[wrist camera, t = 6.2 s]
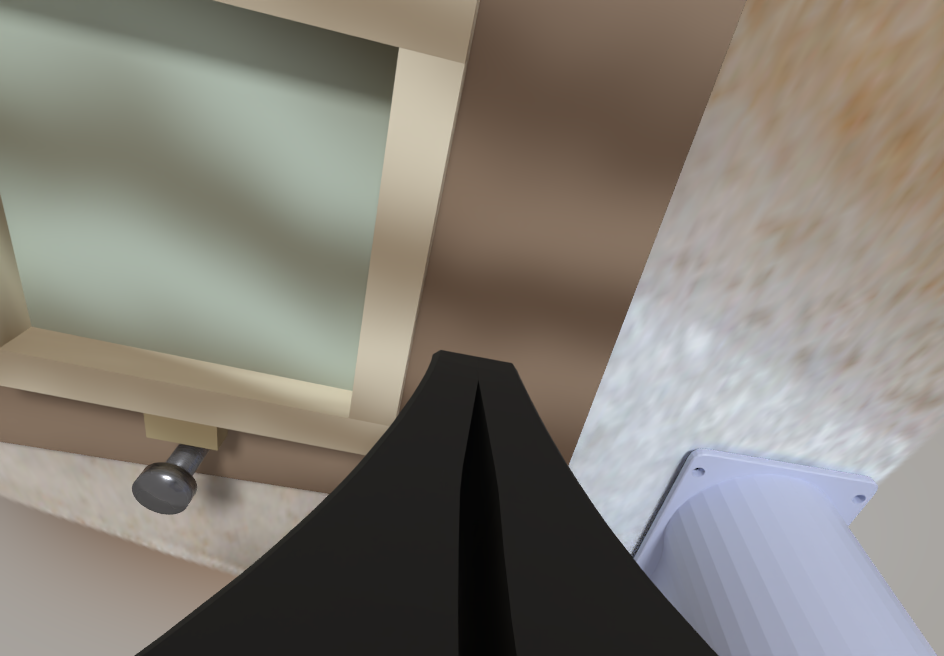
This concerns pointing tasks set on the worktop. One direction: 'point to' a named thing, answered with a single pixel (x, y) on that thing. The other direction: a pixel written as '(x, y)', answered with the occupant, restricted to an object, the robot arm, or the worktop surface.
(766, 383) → the worktop surface
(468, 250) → the walnut board
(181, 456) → the knob
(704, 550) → the robot arm
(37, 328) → the picture frame
